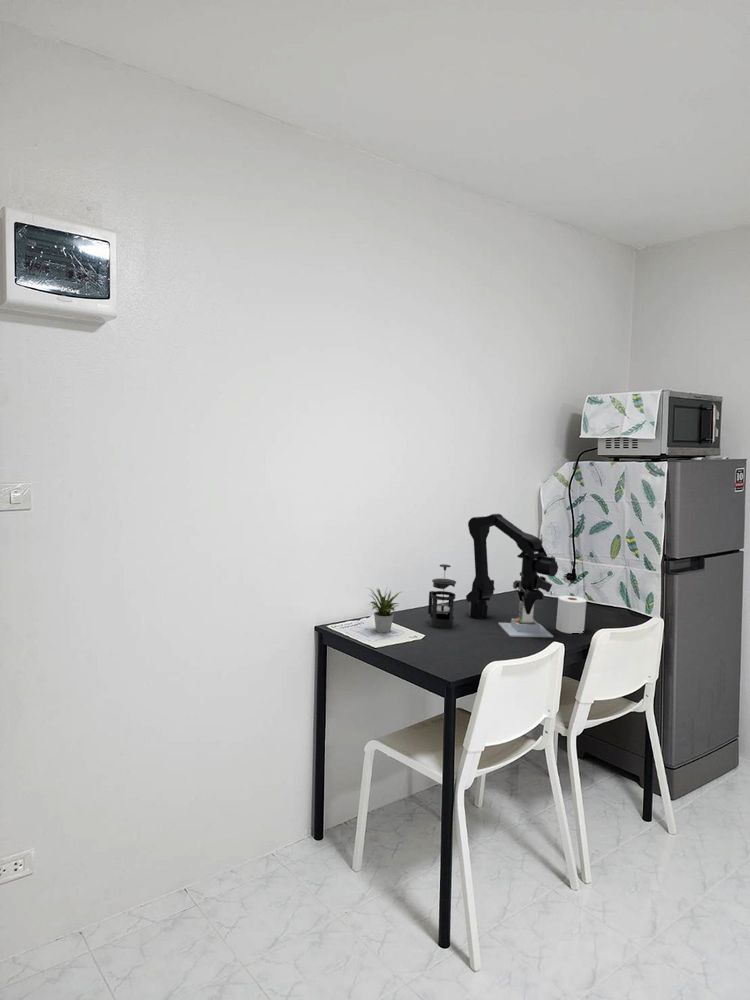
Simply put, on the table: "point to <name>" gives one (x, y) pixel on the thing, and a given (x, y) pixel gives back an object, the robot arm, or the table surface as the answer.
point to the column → (523, 616)
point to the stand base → (524, 629)
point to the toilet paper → (571, 614)
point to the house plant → (383, 611)
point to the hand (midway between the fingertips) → (526, 612)
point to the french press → (439, 618)
